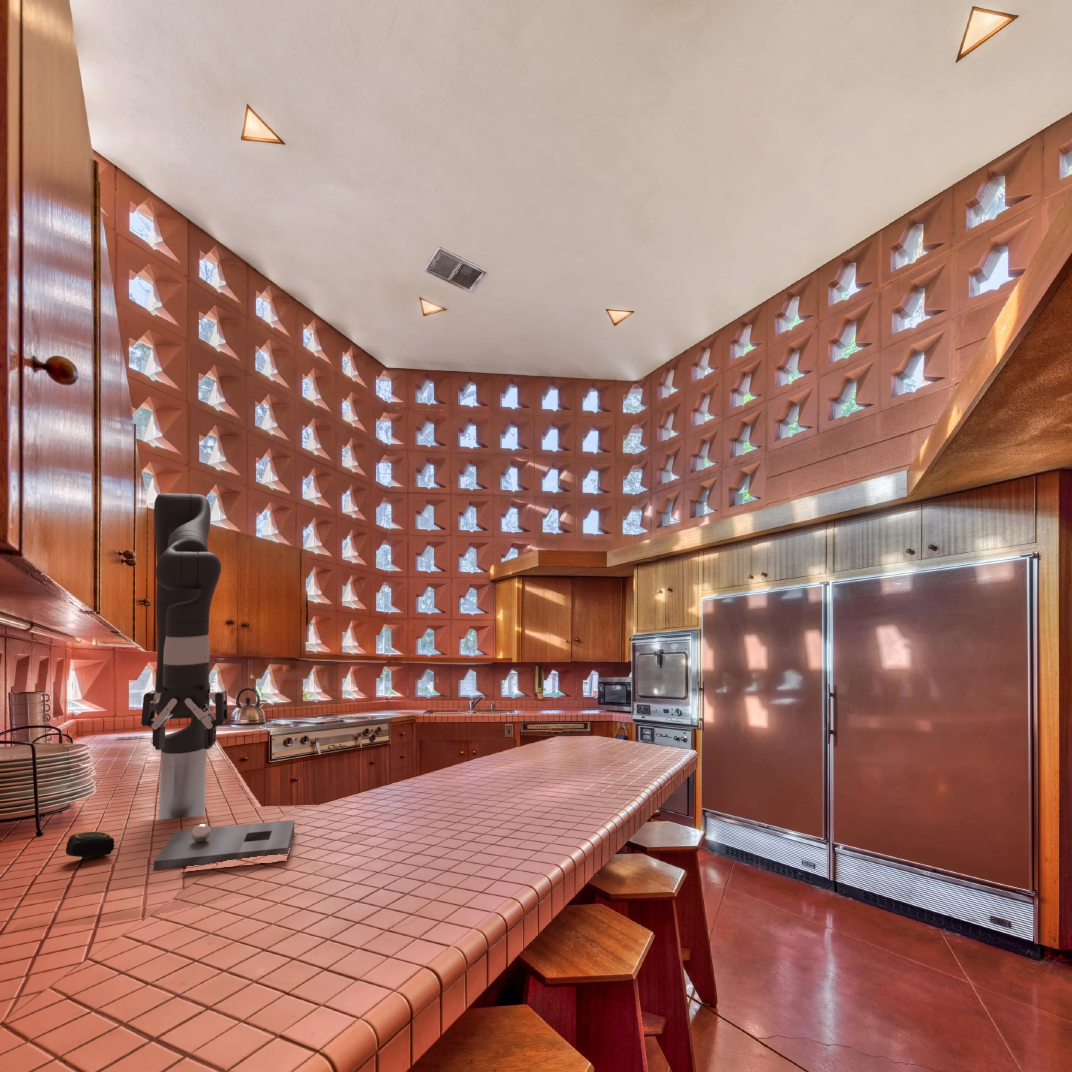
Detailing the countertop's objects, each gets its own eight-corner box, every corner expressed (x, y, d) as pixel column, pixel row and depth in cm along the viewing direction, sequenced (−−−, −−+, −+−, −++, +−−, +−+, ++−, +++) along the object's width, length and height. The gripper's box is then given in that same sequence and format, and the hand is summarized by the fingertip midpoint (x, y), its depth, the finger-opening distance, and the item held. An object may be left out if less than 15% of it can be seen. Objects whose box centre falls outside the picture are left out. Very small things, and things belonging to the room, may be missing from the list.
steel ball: (190, 840, 123) (190, 823, 123) (208, 836, 125) (209, 819, 125) (192, 846, 120) (193, 828, 120) (211, 842, 122) (212, 825, 122)
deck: (153, 875, 114) (154, 861, 114) (174, 843, 128) (175, 830, 128) (287, 861, 120) (287, 847, 120) (294, 832, 133) (294, 819, 134)
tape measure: (68, 862, 116) (73, 839, 117) (60, 854, 121) (65, 832, 122) (111, 859, 121) (116, 837, 122) (102, 851, 126) (107, 830, 127)
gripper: (135, 663, 116) (132, 755, 115) (218, 662, 117) (216, 754, 117) (156, 656, 123) (153, 743, 123) (234, 656, 125) (232, 742, 124)
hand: (184, 748), depth 120 cm, fingers open, 8 cm apart
